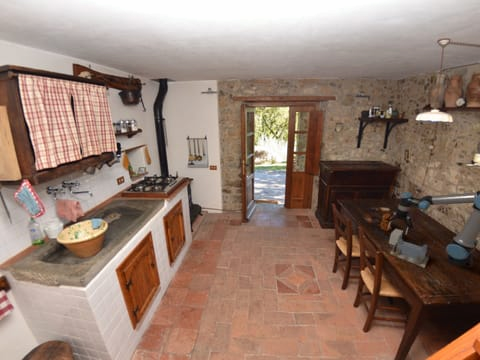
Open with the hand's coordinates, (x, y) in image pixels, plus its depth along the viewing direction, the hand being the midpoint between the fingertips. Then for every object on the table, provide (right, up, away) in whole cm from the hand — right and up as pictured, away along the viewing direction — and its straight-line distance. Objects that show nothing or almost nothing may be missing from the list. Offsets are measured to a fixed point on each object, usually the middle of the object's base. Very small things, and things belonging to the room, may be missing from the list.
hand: (397, 230), depth 195 cm
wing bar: (0, -11, +3) cm, 12 cm away
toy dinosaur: (+5, -4, +24) cm, 25 cm away
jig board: (-3, -17, -17) cm, 24 cm away
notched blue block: (-3, -16, -17) cm, 24 cm away
